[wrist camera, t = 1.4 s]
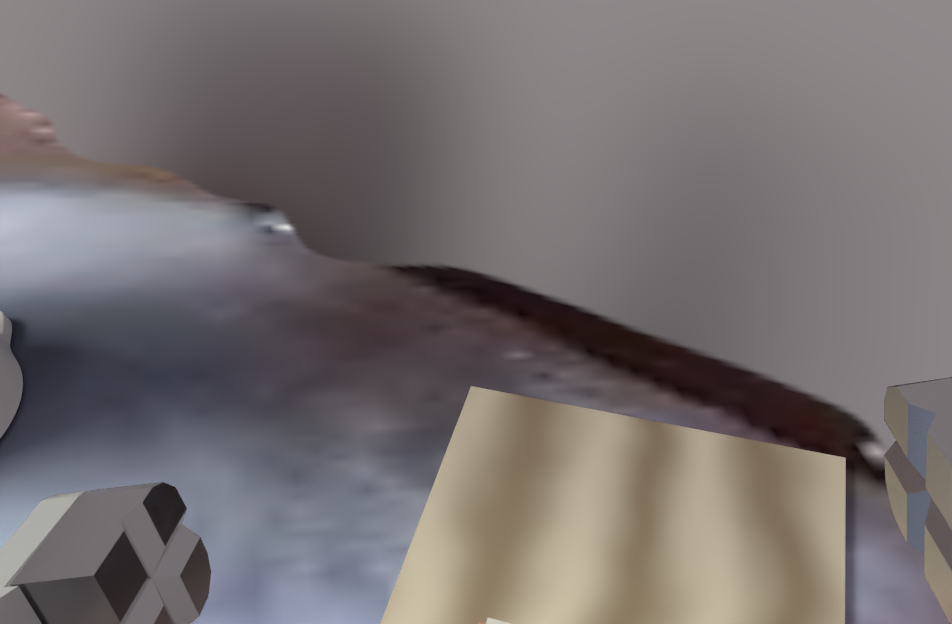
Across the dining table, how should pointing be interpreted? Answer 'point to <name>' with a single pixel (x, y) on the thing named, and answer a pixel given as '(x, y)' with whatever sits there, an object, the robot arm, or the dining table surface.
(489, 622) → the tile
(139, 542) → the robot arm
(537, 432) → the board
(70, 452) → the dining table surface
